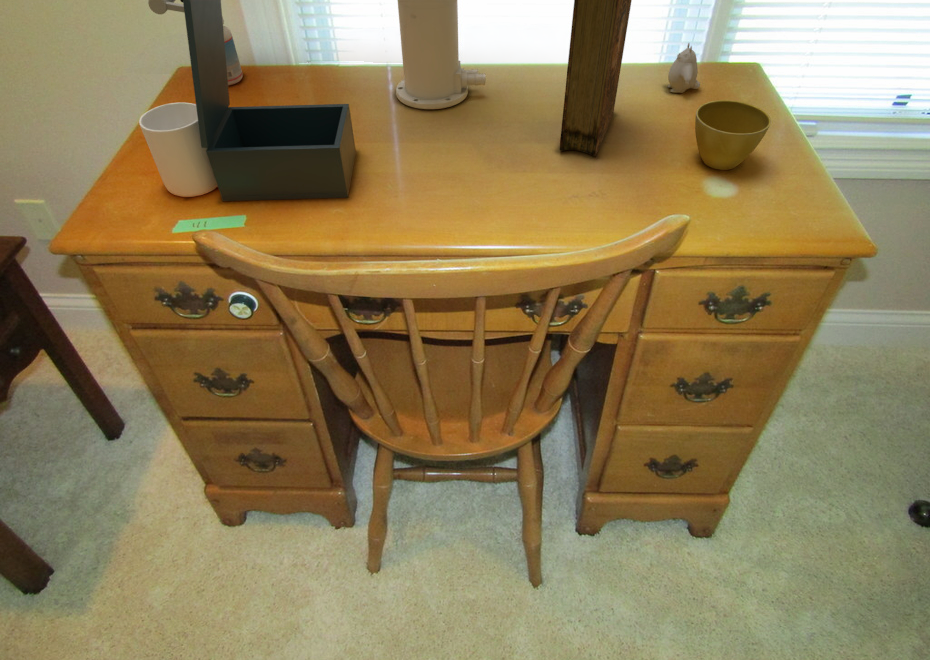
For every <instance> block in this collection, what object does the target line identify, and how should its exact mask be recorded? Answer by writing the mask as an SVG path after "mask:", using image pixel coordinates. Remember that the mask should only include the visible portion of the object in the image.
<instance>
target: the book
mask: <svg viewBox="0 0 930 660" xmlns="http://www.w3.org/2000/svg"><path fill="white" fill-rule="evenodd" d="M631 6H632V0H573V8H572V9H573V10H572V19H571V28H570V29H571V30H570V40H569V48H568V59H567V70H566V80H565V90H564V99H563V110H562V120H561V128H560V129H561V130H560V139H559V151H561V152H564V151H578V152H582V153H586V154H588V155H590V156H592V157H596V156H597V154H598V152H599V149H600V147H601V145H602V142H603V140H604V137H605V136H606V133H607V131H608V129H609V125H610V123H611V121H612V119H613V116H614V113H615V105H616V99H617V93H618V88H619V87H618V86H619V81H620V74H621V68H622V62H623V56H624V51H625V44H626V37H627V30H628V25H629V18H630V13H631Z"/></svg>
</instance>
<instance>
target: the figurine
mask: <svg viewBox="0 0 930 660" xmlns="http://www.w3.org/2000/svg"><path fill="white" fill-rule="evenodd" d="M697 60H698V59H697V54H696V52H695V51H694V50H693V47H692V46H690V42H688V43H687V46H686V48H685V49H683V51H681V52H679V53H678V54H677V56H676V59H675V60H674V61H673V62H672V64H671V66H670V67H669V70H668V74H667V80H668V85H667V87H666V88H670V89H669V90H668V92H669V93H675V94H676V93H678V94H682V93H685V92H686V91H688V90H689V89H692V90H698V89H700V87H701V82H700V81H698V80H697V79H698V78H697V77H698V74H699V73H698V72H699V71H698V61H697Z"/></svg>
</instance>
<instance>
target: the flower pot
mask: <svg viewBox="0 0 930 660" xmlns="http://www.w3.org/2000/svg"><path fill="white" fill-rule="evenodd" d="M771 123H772V119H771V117H770V115H769V113H767V112H766V111H765V110H763V109H761V108H760V107H758V106H755V105H753V104H750V103H748V102H744V101H738V100H731V99H720V100H719V99H717V100H713V101H708V102H704V103H702V104H701V105H699V106H698V107H697V109H696V111H695V120H694V132H695V133H694V134H695V141H696V145H697V150H698V153H699V155H700V158H701V160H702V162H703V163H704V165H706V166H708V167H709V168H712V169H713V170H714V169H715V170H720V171H727V170H733V169H735V168H736V167H737V166H739V165H740V164H741V163H743V162H744V161H745V160H746V159H747V158H748V157H749V156H750V155H751V154H752V153H753V152H754V151H755V149H756V148H757V147H758V145H760V143H761V141H762V140H763V139H764V137H765V136H766V133H767V132H768V130H769V128H770V126H771Z"/></svg>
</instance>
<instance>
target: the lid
mask: <svg viewBox="0 0 930 660" xmlns="http://www.w3.org/2000/svg"><path fill="white" fill-rule="evenodd" d="M148 7H149V9H150V10H151V11H152V12H153V13H154V14H156V15H164V14H166V12H167V11H173V12H178V13H184V20H185V27H186V37H187V44H188V45H187V46H188V53H189V59H190V68H191V75H192V83H193V92H194V99H195V104H196V108H197V116H198V124H199V132H200V140H201V147H202V148H208V147H209V145H210V143H211V141H212V139H213V137H214V135H215V133H216V131H217V129H218V127H219V125H220V123H221V121H222V119H223V117H224V115H225V113H226V111H227V109H228V107H230V105H231V103H230V101H231V100H230V92H229V91H230V90H229V85H228V78H227V67H226V55H225V43H224V32H223V26H224V24H223V20H224V19H223V20H222V16H223V10H222V0H183V2H182V3H178V2H176V0H148Z"/></svg>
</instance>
